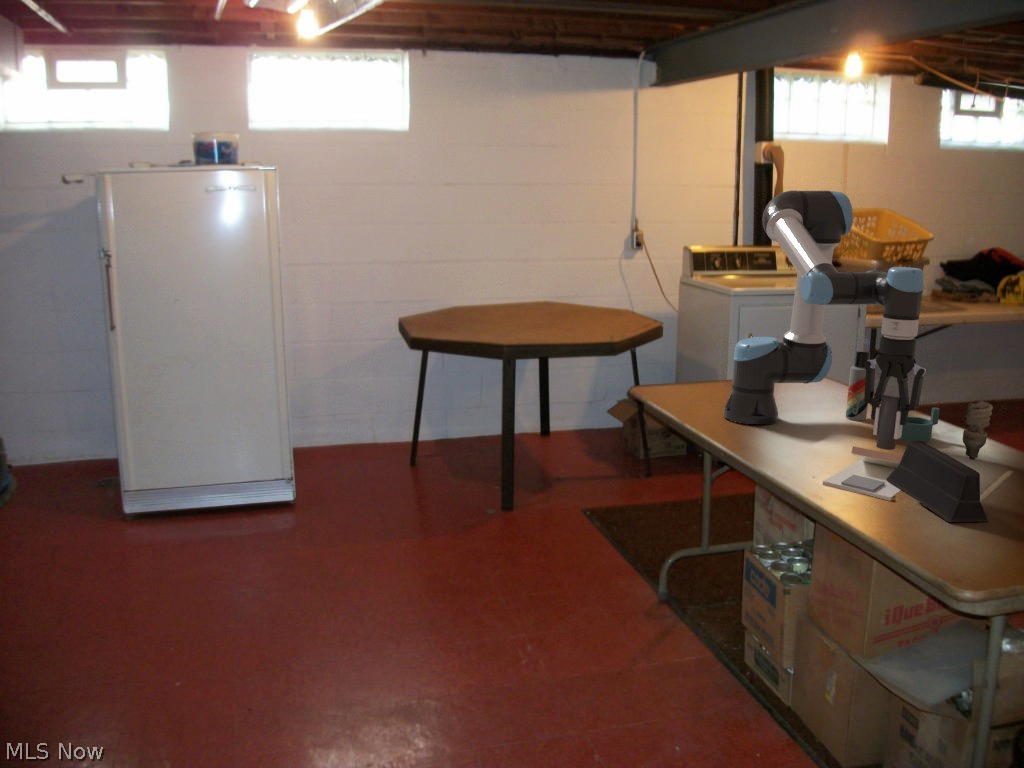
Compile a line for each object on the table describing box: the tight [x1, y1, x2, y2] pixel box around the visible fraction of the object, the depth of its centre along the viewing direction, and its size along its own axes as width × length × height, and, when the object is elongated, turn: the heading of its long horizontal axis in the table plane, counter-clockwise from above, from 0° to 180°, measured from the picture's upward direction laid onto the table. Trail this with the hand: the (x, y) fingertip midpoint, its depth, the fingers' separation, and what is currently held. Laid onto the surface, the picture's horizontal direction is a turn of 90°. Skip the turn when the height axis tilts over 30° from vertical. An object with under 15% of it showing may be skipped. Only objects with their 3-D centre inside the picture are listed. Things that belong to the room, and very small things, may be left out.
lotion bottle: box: [845, 350, 871, 422], centre depth 249 cm, size 6×6×20 cm
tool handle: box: [875, 394, 900, 451], centre depth 200 cm, size 4×4×12 cm
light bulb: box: [962, 400, 994, 460], centre depth 213 cm, size 6×6×15 cm
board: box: [822, 459, 902, 502], centre depth 200 cm, size 15×26×1 cm, turn 138°
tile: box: [850, 446, 903, 468], centre depth 202 cm, size 12×2×10 cm
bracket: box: [898, 407, 940, 444], centre depth 231 cm, size 9×9×9 cm
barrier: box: [887, 441, 989, 523], centre depth 184 cm, size 24×9×10 cm, turn 8°
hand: (887, 435), depth 200 cm, fingers closed on tool handle, 4 cm apart
